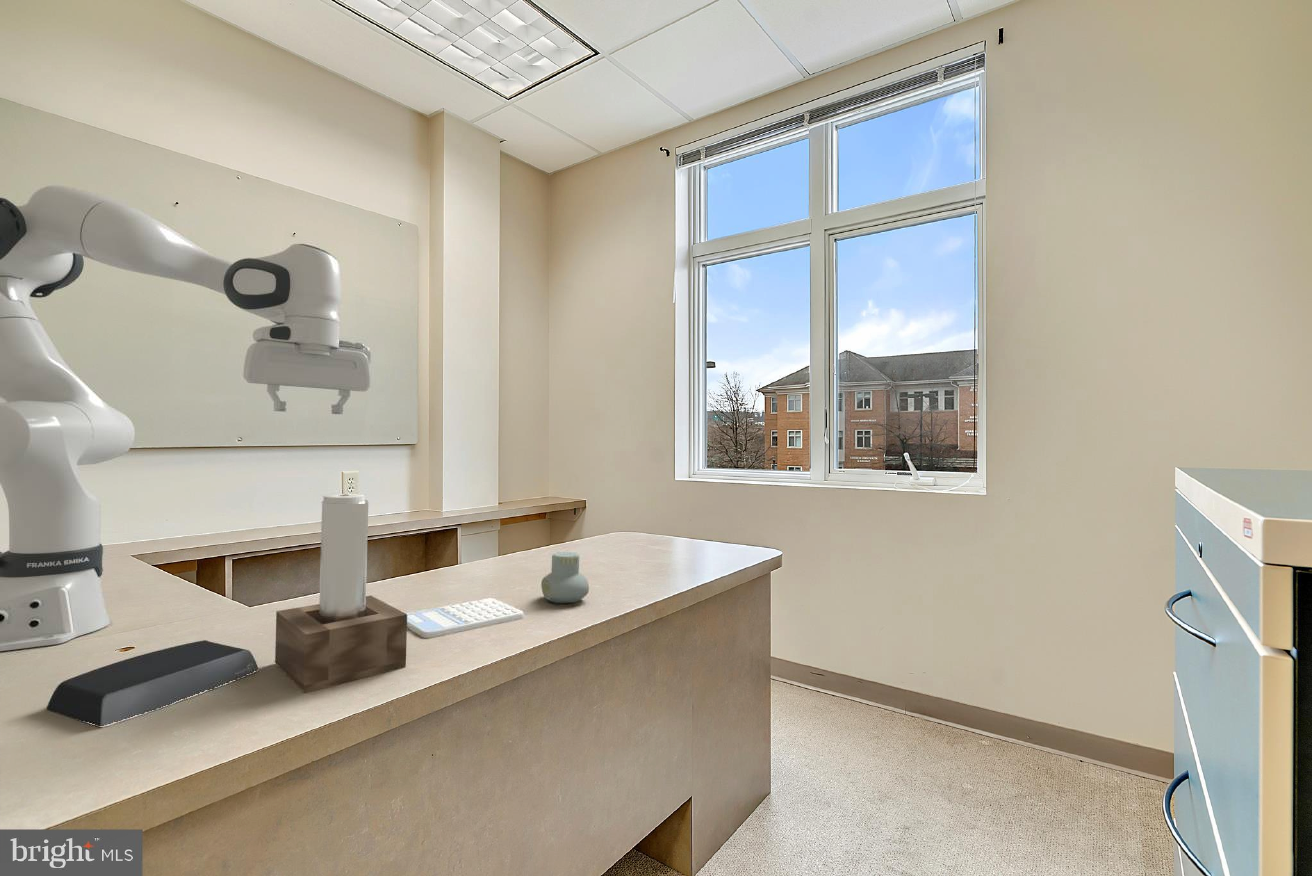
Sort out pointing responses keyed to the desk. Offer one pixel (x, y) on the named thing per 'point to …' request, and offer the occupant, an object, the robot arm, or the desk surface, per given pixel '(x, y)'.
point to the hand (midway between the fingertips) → (309, 412)
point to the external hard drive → (149, 681)
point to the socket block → (339, 645)
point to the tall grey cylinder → (343, 557)
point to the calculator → (461, 617)
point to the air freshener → (565, 579)
